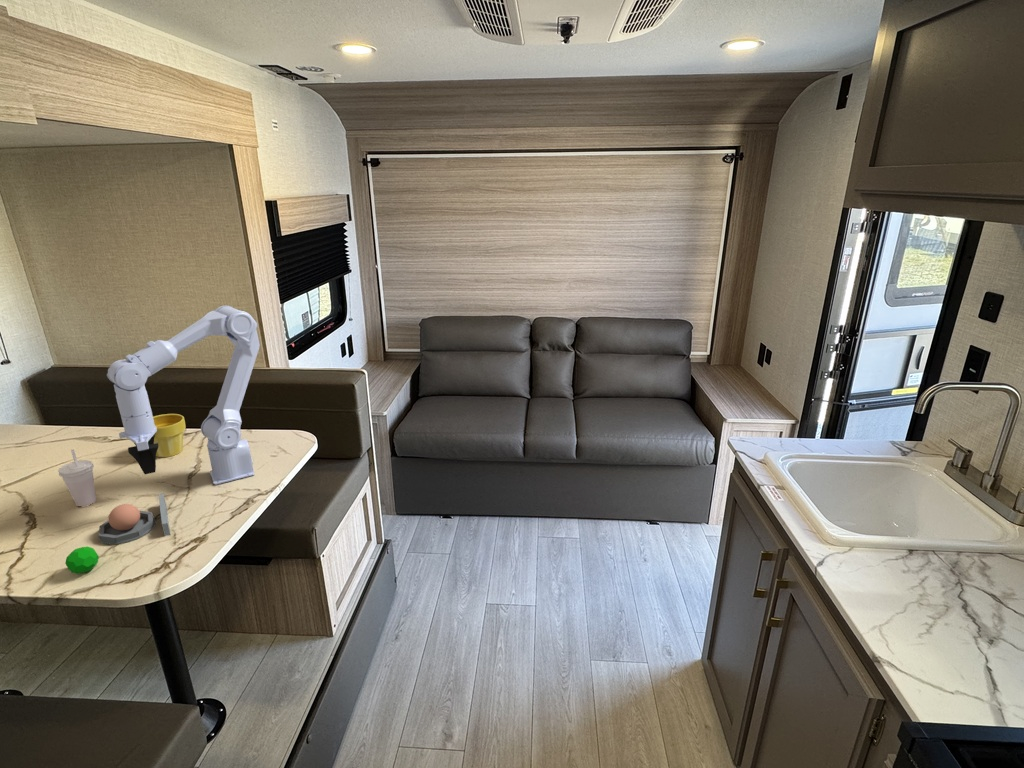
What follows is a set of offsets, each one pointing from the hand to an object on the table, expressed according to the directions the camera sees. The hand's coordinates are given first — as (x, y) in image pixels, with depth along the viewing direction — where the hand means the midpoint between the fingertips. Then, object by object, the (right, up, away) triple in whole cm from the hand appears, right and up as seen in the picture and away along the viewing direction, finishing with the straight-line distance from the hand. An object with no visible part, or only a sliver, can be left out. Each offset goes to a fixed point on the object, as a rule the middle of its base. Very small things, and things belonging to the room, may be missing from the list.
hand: (149, 465), depth 124 cm
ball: (+1, -12, -8) cm, 15 cm away
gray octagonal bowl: (+1, -13, -8) cm, 15 cm away
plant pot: (-12, 0, +26) cm, 29 cm away
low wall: (+6, -12, -4) cm, 14 cm away
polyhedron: (+1, -18, -20) cm, 27 cm away
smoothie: (-16, -9, +2) cm, 19 cm away
